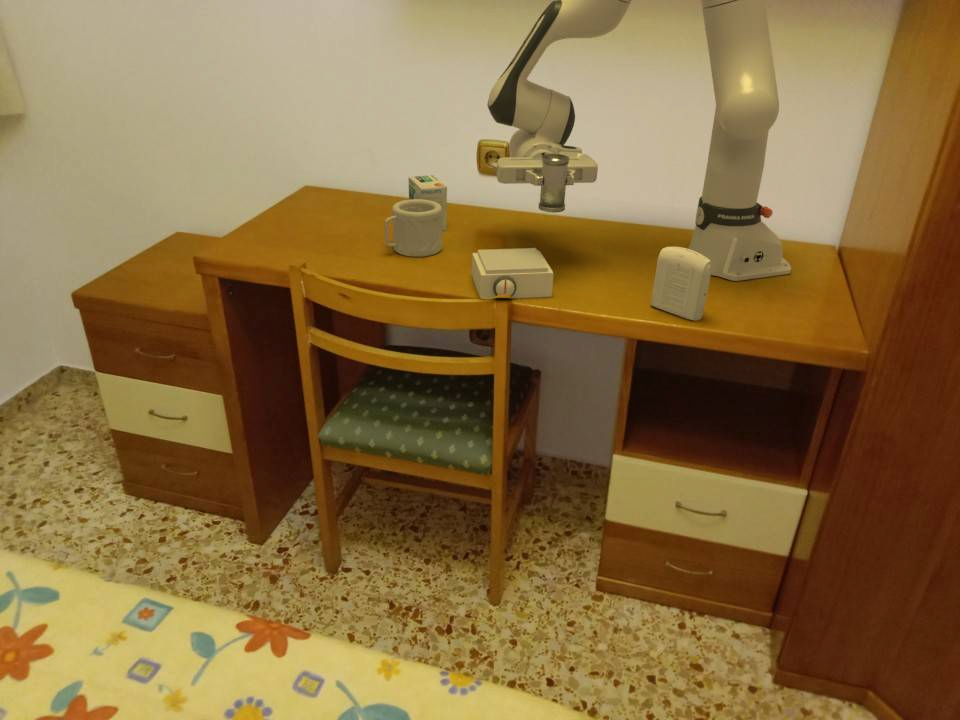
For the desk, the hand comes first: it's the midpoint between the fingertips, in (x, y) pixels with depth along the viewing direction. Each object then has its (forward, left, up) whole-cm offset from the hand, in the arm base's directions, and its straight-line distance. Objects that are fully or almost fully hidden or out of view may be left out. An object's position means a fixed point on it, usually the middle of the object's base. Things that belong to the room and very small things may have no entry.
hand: (554, 181), depth 144 cm
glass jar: (0, -1, -6) cm, 6 cm away
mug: (+26, -19, -20) cm, 38 cm away
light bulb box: (+21, -36, -20) cm, 47 cm away
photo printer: (-21, +18, -20) cm, 34 cm away
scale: (+8, +3, -20) cm, 22 cm away
